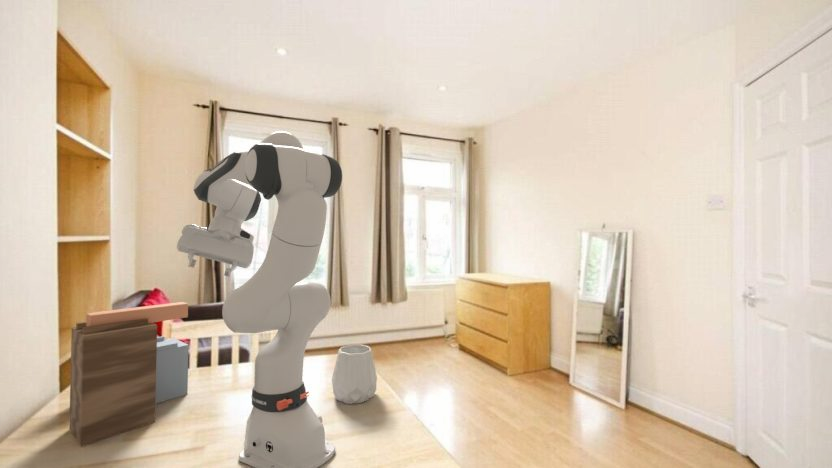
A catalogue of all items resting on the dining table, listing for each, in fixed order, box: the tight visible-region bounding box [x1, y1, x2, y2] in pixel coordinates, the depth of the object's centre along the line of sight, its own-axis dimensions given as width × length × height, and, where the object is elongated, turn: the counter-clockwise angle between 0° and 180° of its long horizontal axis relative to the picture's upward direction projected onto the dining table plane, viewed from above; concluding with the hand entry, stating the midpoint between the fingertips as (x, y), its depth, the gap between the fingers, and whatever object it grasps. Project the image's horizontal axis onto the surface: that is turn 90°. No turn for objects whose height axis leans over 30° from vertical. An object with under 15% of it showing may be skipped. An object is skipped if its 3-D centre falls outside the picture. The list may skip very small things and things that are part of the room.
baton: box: [85, 301, 189, 327], centre depth 101 cm, size 4×22×4 cm, turn 142°
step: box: [155, 335, 190, 405], centre depth 116 cm, size 12×11×17 cm
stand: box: [68, 318, 158, 447], centre depth 97 cm, size 12×15×28 cm
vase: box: [331, 343, 378, 405], centre depth 117 cm, size 14×14×15 cm
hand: (209, 270), depth 106 cm, fingers open, 8 cm apart
